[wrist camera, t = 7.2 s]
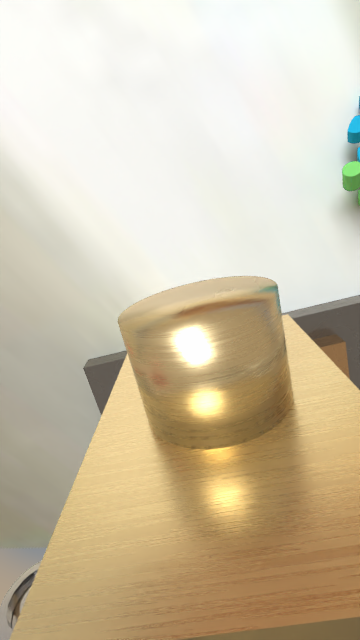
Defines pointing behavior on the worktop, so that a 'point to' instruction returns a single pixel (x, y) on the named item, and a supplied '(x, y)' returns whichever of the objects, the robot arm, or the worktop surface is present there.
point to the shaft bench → (317, 321)
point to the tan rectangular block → (211, 484)
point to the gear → (355, 171)
